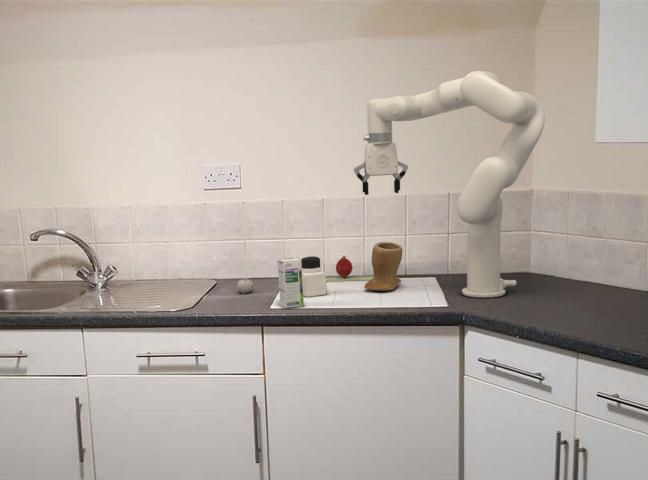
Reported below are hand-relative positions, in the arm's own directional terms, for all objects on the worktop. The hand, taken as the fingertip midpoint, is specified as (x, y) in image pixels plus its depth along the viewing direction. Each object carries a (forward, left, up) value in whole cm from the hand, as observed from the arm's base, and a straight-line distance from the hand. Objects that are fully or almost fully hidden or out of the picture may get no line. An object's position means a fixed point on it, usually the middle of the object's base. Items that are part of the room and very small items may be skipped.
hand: (381, 193), depth 242 cm
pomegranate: (+10, -18, -30) cm, 36 cm away
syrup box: (+32, +19, -31) cm, 48 cm away
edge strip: (+10, -18, -30) cm, 36 cm away
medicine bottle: (+24, +4, -31) cm, 39 cm away
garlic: (+45, -5, -31) cm, 55 cm away
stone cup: (0, +3, -31) cm, 31 cm away
